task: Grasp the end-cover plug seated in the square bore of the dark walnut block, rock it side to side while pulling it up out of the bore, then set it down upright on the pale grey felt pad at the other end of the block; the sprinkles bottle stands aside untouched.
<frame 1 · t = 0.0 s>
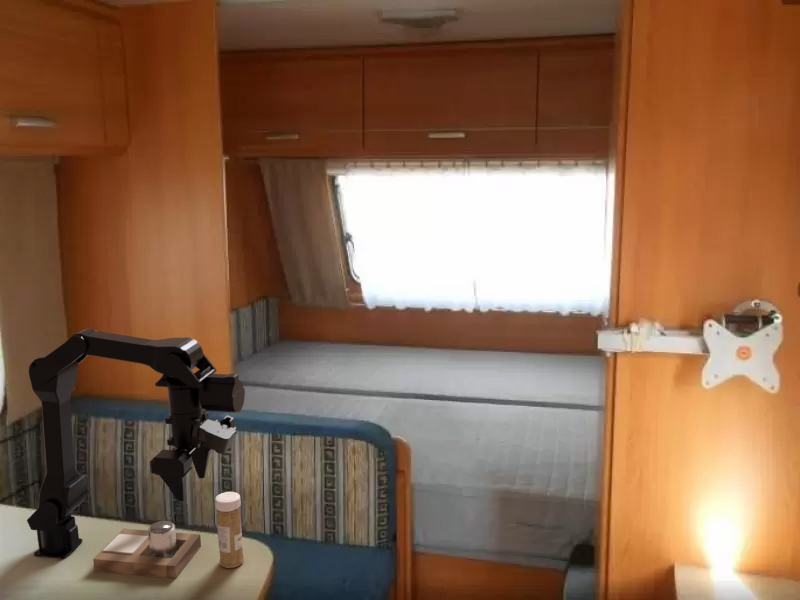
hand: (191, 489, 140), 15 cm above the table, fingers open, 9 cm apart
sprinkles bottle: (231, 563, 143), on the table
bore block: (149, 558, 145), on the table
plug: (164, 559, 144), resting in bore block
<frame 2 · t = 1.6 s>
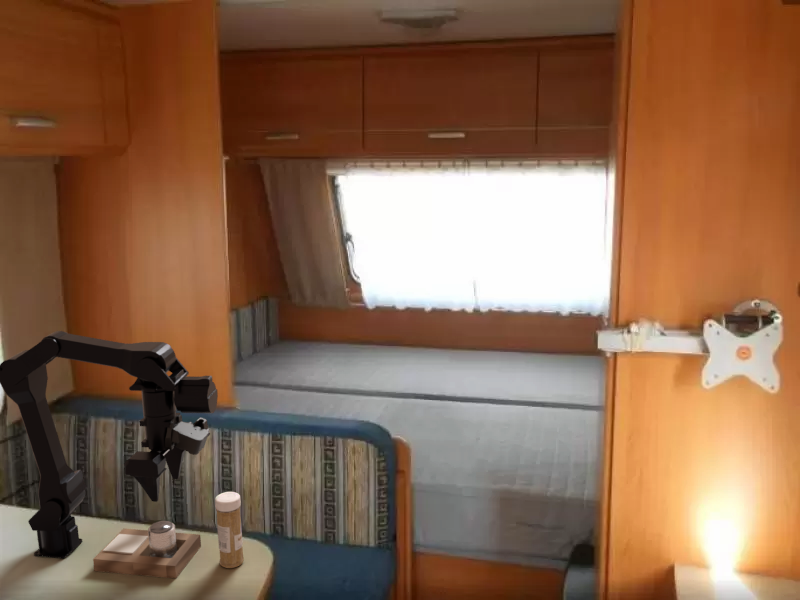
hand: (165, 489, 144), 13 cm above the table, fingers open, 9 cm apart
nothing on the table moved.
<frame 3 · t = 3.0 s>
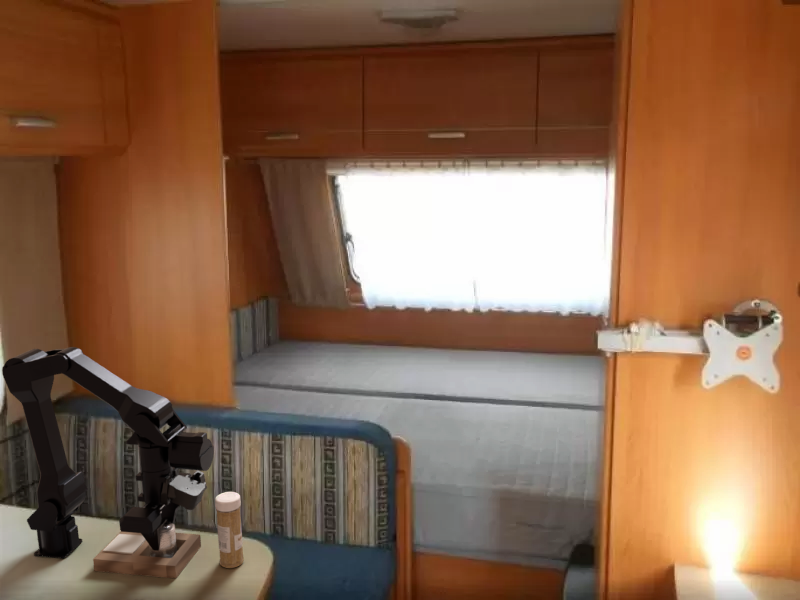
hand: (162, 542, 143), 4 cm above the table, fingers closed on plug, 5 cm apart
plug: (164, 559, 144), resting in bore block, touching gripper
everything else where it was.
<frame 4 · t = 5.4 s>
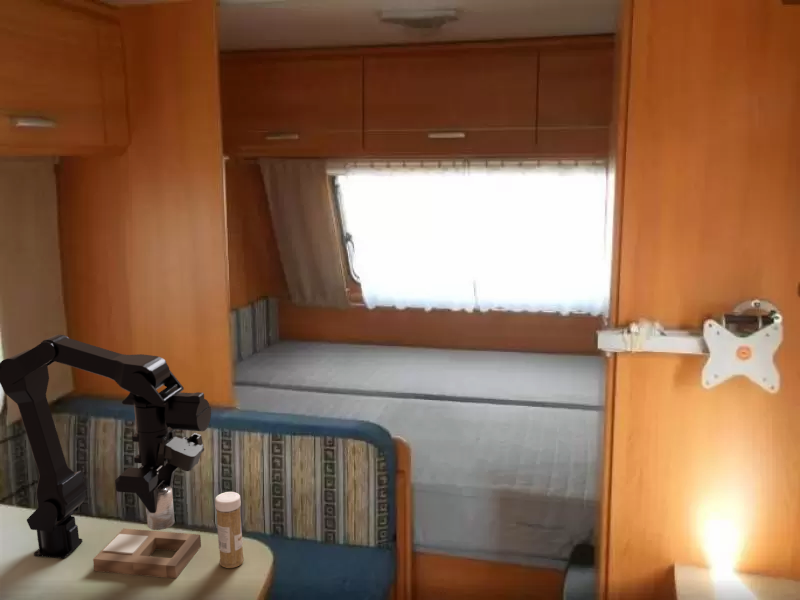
hand: (159, 505, 141), 11 cm above the table, fingers closed on plug, 5 cm apart
plug: (161, 523, 142), point 8 cm above the table, touching gripper
everything else where it was.
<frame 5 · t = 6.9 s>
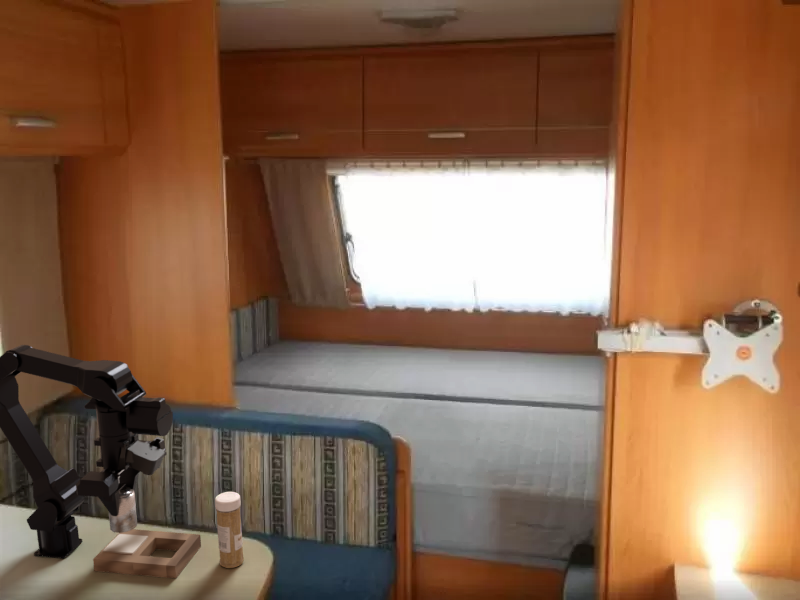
hand: (122, 509, 143), 10 cm above the table, fingers closed on plug, 5 cm apart
plug: (123, 526, 144), point 6 cm above the table, touching gripper
everything else where it was.
when the fingers open (7 cm above the table, at t = 7.7 s): plug stays where it is, resting on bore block.
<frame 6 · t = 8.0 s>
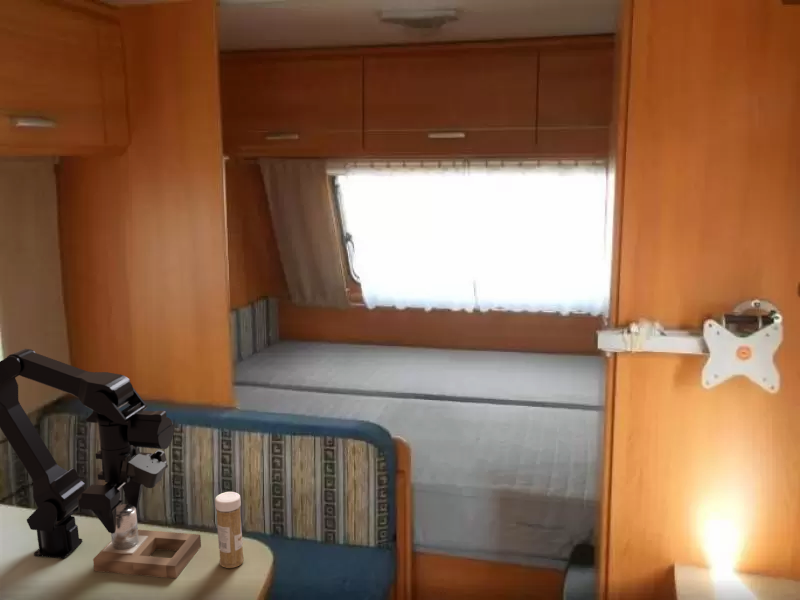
hand: (123, 521, 144), 7 cm above the table, fingers open, 8 cm apart
plug: (125, 543, 145), point 3 cm above the table, touching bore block
everything else where it was.
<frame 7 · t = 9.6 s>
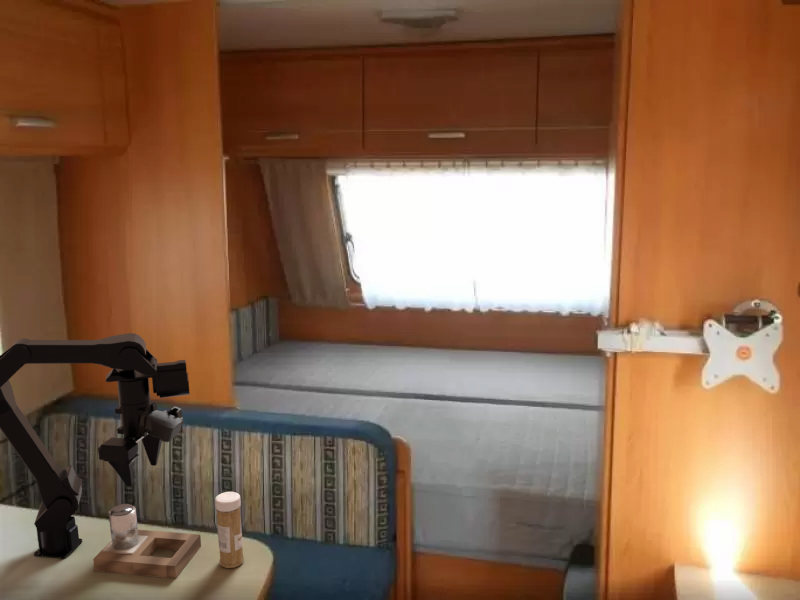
hand: (142, 475, 150), 13 cm above the table, fingers open, 9 cm apart
nothing on the table moved.
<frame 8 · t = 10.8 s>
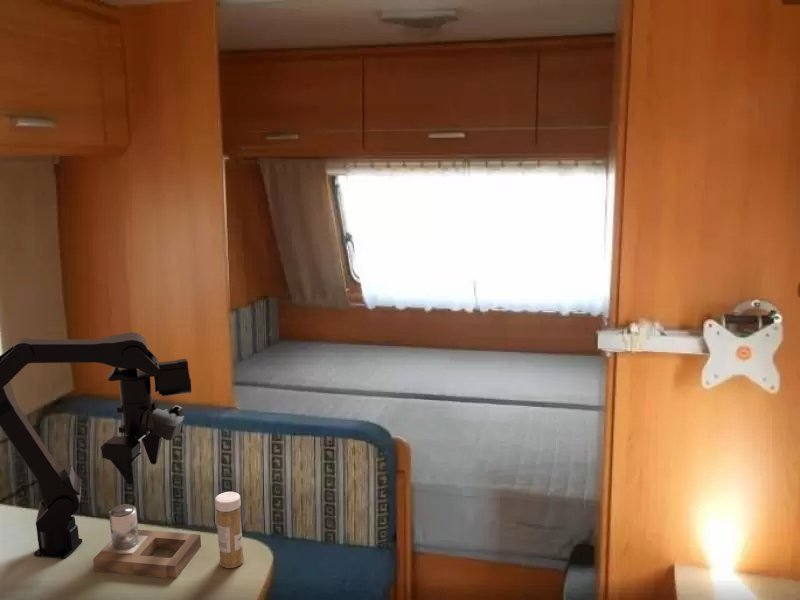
hand: (142, 473, 151), 13 cm above the table, fingers open, 9 cm apart
nothing on the table moved.
at the end: plug inside the target area on the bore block (0.0 cm from its centre), point 2.9 cm above the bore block's base; plug tilted 1°; the gripper is holding nothing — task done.
